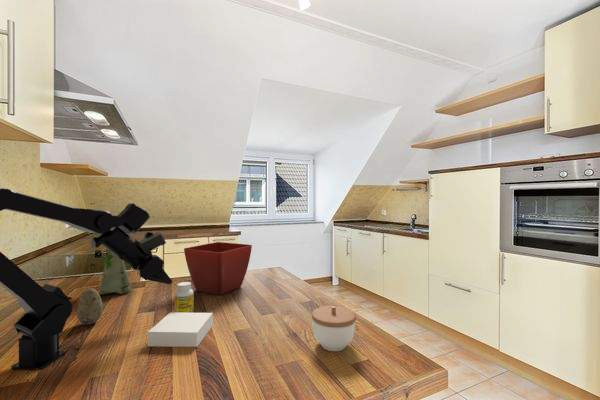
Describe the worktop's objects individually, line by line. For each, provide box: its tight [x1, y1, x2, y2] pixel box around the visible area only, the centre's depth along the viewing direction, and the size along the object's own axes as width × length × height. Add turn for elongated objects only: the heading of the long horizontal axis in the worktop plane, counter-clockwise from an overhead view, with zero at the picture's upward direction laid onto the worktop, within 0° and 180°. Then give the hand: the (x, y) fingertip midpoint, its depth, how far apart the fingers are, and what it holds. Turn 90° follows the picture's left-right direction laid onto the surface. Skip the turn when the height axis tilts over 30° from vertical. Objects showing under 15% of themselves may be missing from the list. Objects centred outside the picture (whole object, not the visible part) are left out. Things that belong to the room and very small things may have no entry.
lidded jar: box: [311, 305, 357, 352], centre depth 71 cm, size 11×11×9 cm
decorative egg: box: [76, 287, 104, 325], centre depth 82 cm, size 6×6×10 cm
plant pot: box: [183, 241, 253, 296], centre depth 115 cm, size 19×19×17 cm
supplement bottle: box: [174, 281, 195, 313], centre depth 89 cm, size 5×5×10 cm
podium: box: [147, 311, 214, 348], centre depth 76 cm, size 12×12×4 cm
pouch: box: [98, 228, 132, 295], centre depth 109 cm, size 11×12×25 cm
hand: (166, 279), depth 86 cm, fingers open, 9 cm apart
